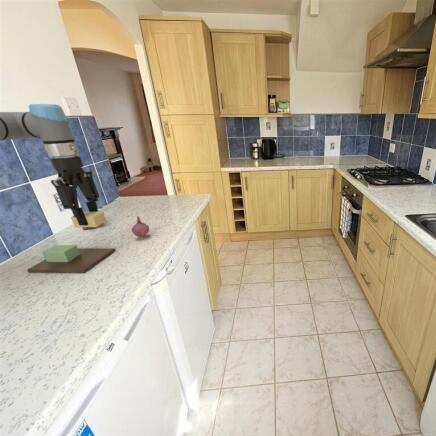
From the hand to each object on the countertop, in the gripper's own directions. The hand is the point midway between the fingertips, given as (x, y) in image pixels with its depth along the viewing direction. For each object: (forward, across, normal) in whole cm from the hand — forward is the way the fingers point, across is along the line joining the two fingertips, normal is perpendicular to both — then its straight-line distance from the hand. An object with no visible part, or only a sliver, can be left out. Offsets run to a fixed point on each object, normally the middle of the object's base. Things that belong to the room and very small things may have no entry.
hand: (90, 221), depth 88 cm
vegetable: (+13, +11, -10) cm, 19 cm away
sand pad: (+1, 0, 0) cm, 1 cm away
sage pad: (+11, -7, +8) cm, 16 cm away
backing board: (+12, -7, +5) cm, 15 cm away
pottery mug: (+13, +23, +21) cm, 34 cm away
